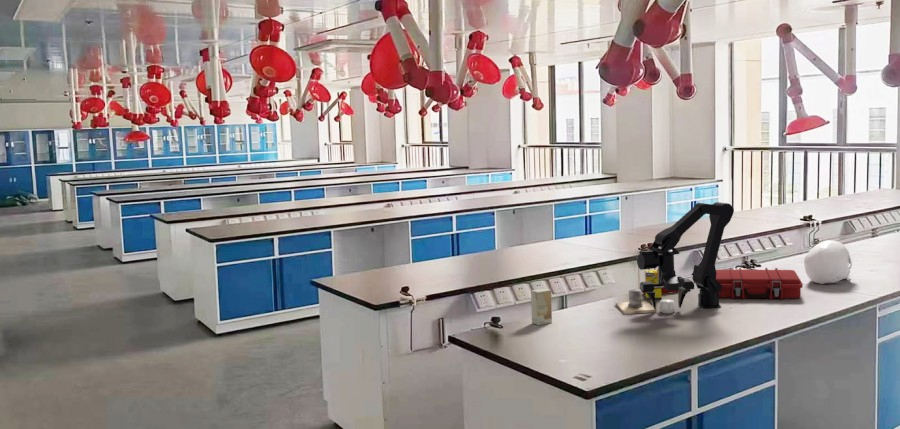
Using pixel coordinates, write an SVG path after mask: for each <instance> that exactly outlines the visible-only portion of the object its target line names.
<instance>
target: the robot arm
mask: <svg viewBox="0 0 900 429" xmlns="http://www.w3.org/2000/svg"><path fill="white" fill-rule="evenodd" d="M734 213H735V209H734V208H733V206H732V204H730V203H727V202H721V201H716V202H713V203H711V204H710V203H704V202H697V203H695V204H694V205H693V207H692V208H691V209H690V210H689V211H688V212H686V213H685V214H684V215H683V216H682V217H680V218H679V219H678V220H677V221H676V222H674V224H673V225H671V226H669V227H667V228H665V229H663V230H660V232H658V233H657V234H656V235H655V236H654V241H653V242H652V244H651V246H650V247H649V248H648V250H640V251H639V254H638V256H637V258H636V264H637V267H638V269H639V270H641V271H642V270H644V271H645V270H653V269H656V268H657V270H658V282H659V283H657V284H653V283H652V282H650V281H648V282H645V281H641V282H640V283H639V290H641V292H642V291H643V292H645V293H646V294H648V296H649V298H650V303H651V305H652V306H653V307H654V309H656V310H657V304H656V302H657V301H656V299H655V292H654V291H653V290H654V289H659V288H665V290H666V291H671V290H675V291H677V290H678V292H677V297H678V298H677V299H678V300H677V302H678V303H677V304H678V308H680V309H681V308H682V305H683V303H684V300H685V297H686V295H687V294H688V293H690V292H691V291H692V290H695V286H696V287H697V289H699V293H698V294H697V297H698V301H697V302H698V303H697V304H698V305H699V306H700V307H701V308H703V309H710V308H711V309H713V308H714V309H715V308H722V305H721V304H720V297H719V292H720V291H721V290H722V285H721V284H720V283H719V282H718V281H717V280H716V274H717V273H716V270H717V269H716V262H717V258H718V254H719V250H720V246H721V242H722V238H723V235H724V230H725V228H726V227H727V226H728V224H729V223H730V221H731V220H732V218H733V215H734ZM704 215H709V217H708V218H709V222H710V227H709V231H708V235H707V239H706V242H705V246H704V251H703V254H702V258H701V261H700V263H699V264H698V265H697V264H694V266H693V269H692V270H693V271H692V273H691V276H692V277H691V278H692V279H689V278H686V279H685V276H684V275H683V276H682V275H678V276H677V274H676V270H675V255H680V251H678V250H677V249H676V247H677V245H678V244H679V243H680V240H681V238H682V237H683V235H684V234H685V233H686V232H687V231H688V230H689V229H690V228H691V227H693V225H695V224H696V223H697V222H698V221H699V220H700V219H702V218H703V216H704ZM661 285H663V286H661Z"/></svg>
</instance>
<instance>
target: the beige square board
mask: <svg viewBox="0 0 900 429" xmlns="http://www.w3.org/2000/svg"><path fill="white" fill-rule="evenodd" d="M615 306H616V307H617V308H618V310H620V312H621V313H623V314H624V315H631V314H632V315H633V314H635V315H636V314H647V313H648V314H649V313H650V314H651V313H657V311H658V310H657V308H656V309H654V307H653V305H652V303H651V304H650V302H648V301H647V300H643V298H642V291H641V290H640V288H639V289H636V288H633V289H629V290H628V301H625V302H624V301H623V302H615Z"/></svg>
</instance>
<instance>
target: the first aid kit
mask: <svg viewBox="0 0 900 429" xmlns="http://www.w3.org/2000/svg"><path fill="white" fill-rule="evenodd" d="M716 273H717V274H716V280H717V281H718V282H719V283H720V284H721V285H722V290H721V291H720V292H719V298H730V299H732V300H734V299H735V298H739V299H740V298H741V299H742V300H745V299H749V298H751V299H769V300H770V301H771V300H773V299H780V301H784V299H799V298H801V294H802V293H801V289H803V285H804V284H803V282H802V281H801V278H799V276H798V274H797V272H796V271H795V270H793V269H778V267H775V269H768V268H767V267H765V269H742V268H741V267H739V269H732V267H729V269H716Z"/></svg>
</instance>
